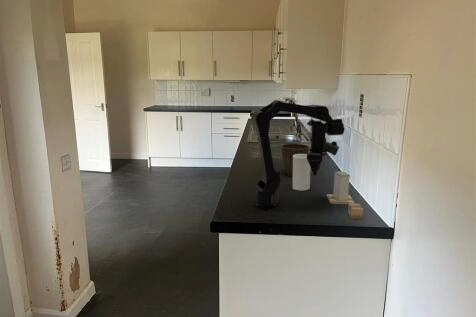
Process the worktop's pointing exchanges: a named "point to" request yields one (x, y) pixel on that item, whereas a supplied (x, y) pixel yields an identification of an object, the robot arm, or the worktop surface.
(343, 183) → the tea caddy
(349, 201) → the trivet
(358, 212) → the oak block
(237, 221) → the worktop surface
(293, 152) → the plant pot
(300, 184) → the cup
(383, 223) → the worktop surface
